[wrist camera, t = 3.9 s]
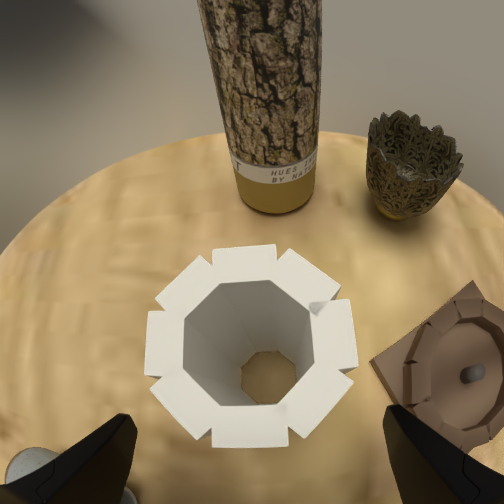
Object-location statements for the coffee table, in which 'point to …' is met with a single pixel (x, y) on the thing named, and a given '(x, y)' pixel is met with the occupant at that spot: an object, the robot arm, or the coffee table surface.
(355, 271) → the coffee table surface
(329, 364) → the tube
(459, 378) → the holder
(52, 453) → the ceramic mug
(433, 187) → the cup
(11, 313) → the coffee table surface
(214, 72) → the paper tube
